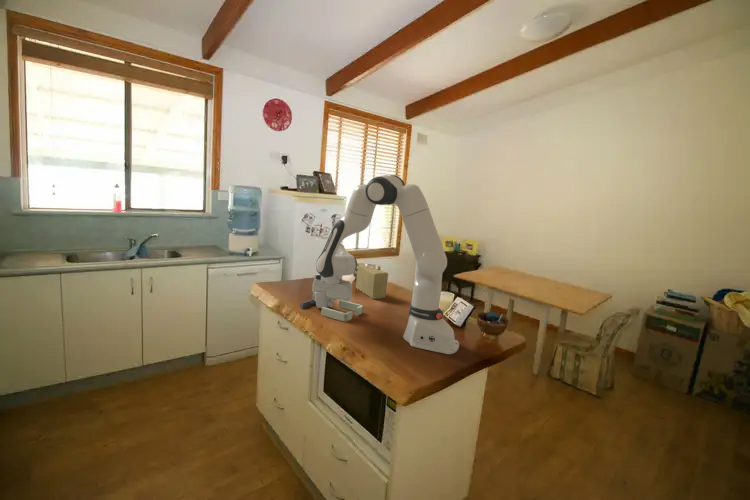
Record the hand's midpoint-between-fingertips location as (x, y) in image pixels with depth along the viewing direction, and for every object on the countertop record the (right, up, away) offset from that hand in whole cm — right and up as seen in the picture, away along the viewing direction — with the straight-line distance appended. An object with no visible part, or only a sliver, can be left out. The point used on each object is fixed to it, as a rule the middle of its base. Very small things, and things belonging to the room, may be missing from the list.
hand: (330, 306), depth 164 cm
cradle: (+6, -3, -2) cm, 7 cm away
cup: (-5, -1, +3) cm, 6 cm away
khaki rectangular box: (+17, +1, +36) cm, 40 cm away
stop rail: (-11, 0, +5) cm, 12 cm away
